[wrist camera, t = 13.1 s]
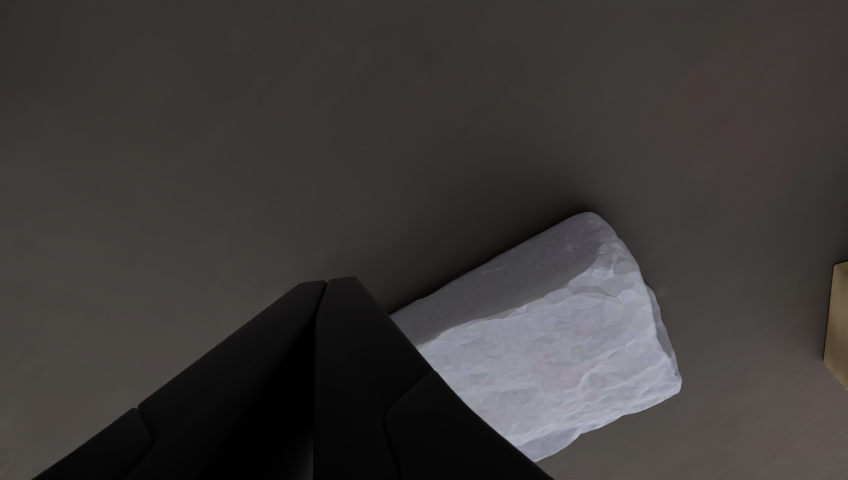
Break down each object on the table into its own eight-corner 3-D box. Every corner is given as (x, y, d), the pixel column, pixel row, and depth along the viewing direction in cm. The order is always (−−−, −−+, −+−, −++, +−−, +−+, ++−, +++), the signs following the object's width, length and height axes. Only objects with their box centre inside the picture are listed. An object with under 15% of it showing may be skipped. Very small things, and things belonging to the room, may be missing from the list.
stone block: (665, 314, 29) (593, 181, 23) (715, 403, 26) (646, 276, 20) (448, 413, 33) (332, 320, 26) (467, 504, 29) (338, 424, 23)
